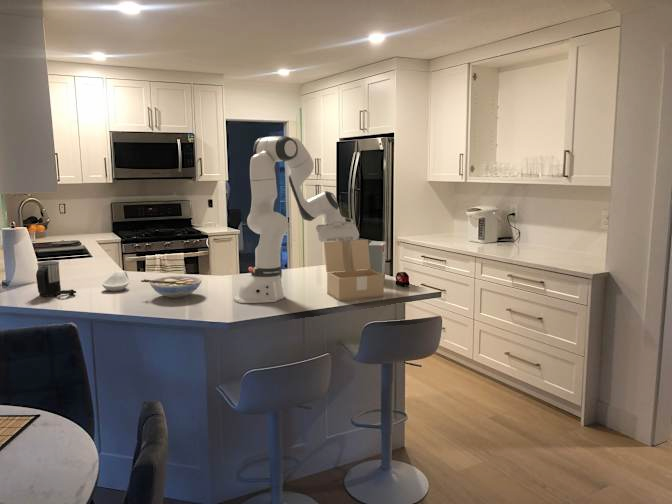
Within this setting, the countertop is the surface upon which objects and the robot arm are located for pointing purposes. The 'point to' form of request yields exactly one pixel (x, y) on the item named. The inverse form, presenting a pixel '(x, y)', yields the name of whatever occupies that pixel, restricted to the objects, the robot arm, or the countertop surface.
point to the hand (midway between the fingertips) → (342, 246)
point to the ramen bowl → (175, 285)
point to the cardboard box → (355, 284)
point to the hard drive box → (377, 256)
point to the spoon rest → (116, 281)
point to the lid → (346, 255)
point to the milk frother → (50, 279)
